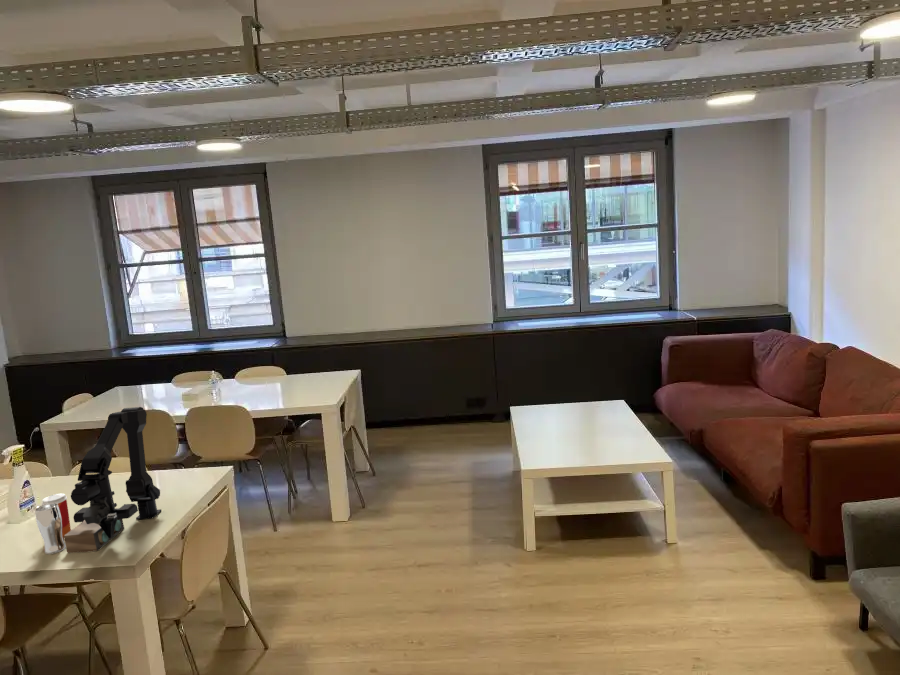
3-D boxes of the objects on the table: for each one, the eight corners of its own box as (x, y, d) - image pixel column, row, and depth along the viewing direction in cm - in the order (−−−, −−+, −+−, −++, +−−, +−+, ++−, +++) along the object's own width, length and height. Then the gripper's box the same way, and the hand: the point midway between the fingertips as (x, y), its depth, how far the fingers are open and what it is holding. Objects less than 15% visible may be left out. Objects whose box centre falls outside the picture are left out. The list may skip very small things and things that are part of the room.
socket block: (95, 530, 235) (92, 514, 234) (124, 528, 234) (121, 512, 233) (67, 553, 219) (63, 535, 218) (97, 551, 218) (94, 533, 217)
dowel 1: (84, 540, 225) (82, 530, 224) (110, 538, 224) (108, 528, 223) (77, 545, 221) (75, 535, 220) (103, 544, 220) (101, 533, 220)
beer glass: (71, 543, 226) (62, 501, 224) (60, 553, 219) (51, 510, 217) (50, 546, 226) (41, 503, 224) (38, 556, 219) (29, 512, 217)
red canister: (46, 537, 234) (38, 498, 232) (70, 528, 239) (62, 491, 237) (52, 542, 229) (44, 503, 226) (77, 534, 234) (69, 495, 231)
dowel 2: (96, 529, 233) (94, 520, 232) (121, 528, 232) (119, 518, 231) (90, 534, 229) (88, 524, 228) (116, 532, 228) (114, 522, 228)
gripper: (58, 505, 212) (68, 551, 215) (115, 500, 211) (125, 547, 213) (79, 490, 223) (88, 535, 226) (134, 486, 222) (142, 531, 224)
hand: (110, 537), depth 222 cm, fingers closed
